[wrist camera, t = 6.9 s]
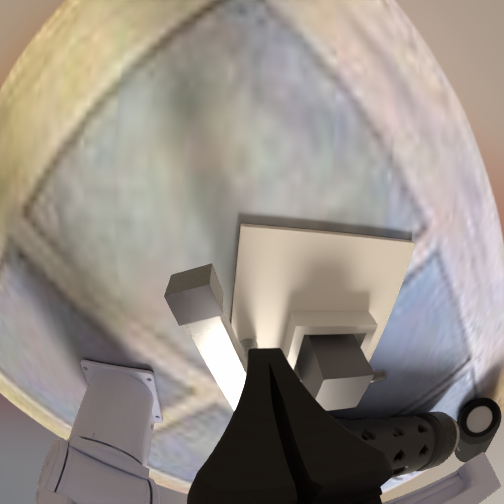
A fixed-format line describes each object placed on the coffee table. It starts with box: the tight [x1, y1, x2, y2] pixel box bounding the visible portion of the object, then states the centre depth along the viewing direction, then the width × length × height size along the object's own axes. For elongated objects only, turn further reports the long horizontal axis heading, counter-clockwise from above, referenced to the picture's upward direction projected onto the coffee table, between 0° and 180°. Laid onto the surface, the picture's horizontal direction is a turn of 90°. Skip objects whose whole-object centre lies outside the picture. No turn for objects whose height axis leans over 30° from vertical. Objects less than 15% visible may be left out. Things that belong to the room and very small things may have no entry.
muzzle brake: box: [334, 412, 460, 478], centre depth 28 cm, size 10×28×10 cm, turn 70°
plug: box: [296, 334, 386, 411], centre depth 21 cm, size 4×7×6 cm, turn 84°
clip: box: [164, 264, 258, 410], centre depth 17 cm, size 2×12×8 cm, turn 16°
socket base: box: [225, 224, 415, 398], centre depth 23 cm, size 18×14×3 cm
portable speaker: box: [454, 398, 501, 462], centre depth 37 cm, size 26×10×10 cm, turn 33°
